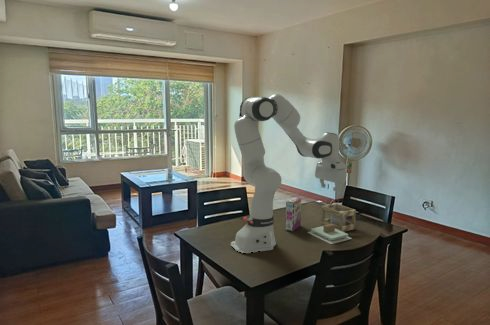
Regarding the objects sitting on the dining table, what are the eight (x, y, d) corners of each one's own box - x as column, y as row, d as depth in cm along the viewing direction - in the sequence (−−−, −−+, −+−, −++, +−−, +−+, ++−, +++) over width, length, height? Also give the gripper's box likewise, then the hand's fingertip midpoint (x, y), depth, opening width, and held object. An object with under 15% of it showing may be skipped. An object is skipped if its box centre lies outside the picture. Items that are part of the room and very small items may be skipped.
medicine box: (344, 225, 190) (344, 211, 189) (345, 228, 186) (346, 213, 184) (330, 225, 191) (330, 210, 190) (331, 228, 187) (331, 213, 185)
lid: (331, 242, 165) (331, 231, 164) (310, 232, 179) (310, 222, 178) (348, 237, 171) (348, 227, 170) (327, 228, 184) (327, 219, 183)
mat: (330, 244, 164) (330, 243, 164) (307, 232, 179) (307, 232, 179) (351, 239, 170) (351, 238, 170) (327, 228, 186) (327, 227, 186)
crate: (340, 232, 179) (341, 212, 178) (321, 224, 192) (321, 206, 191) (355, 229, 184) (355, 209, 183) (335, 221, 198) (336, 203, 196)
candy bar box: (293, 231, 181) (293, 202, 179) (285, 230, 184) (285, 201, 181) (301, 225, 191) (301, 197, 188) (292, 224, 193) (293, 196, 191)
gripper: (312, 161, 182) (311, 185, 184) (339, 166, 164) (338, 193, 166) (321, 160, 185) (320, 184, 187) (348, 165, 167) (347, 192, 169)
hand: (329, 189), depth 177 cm, fingers open, 8 cm apart
